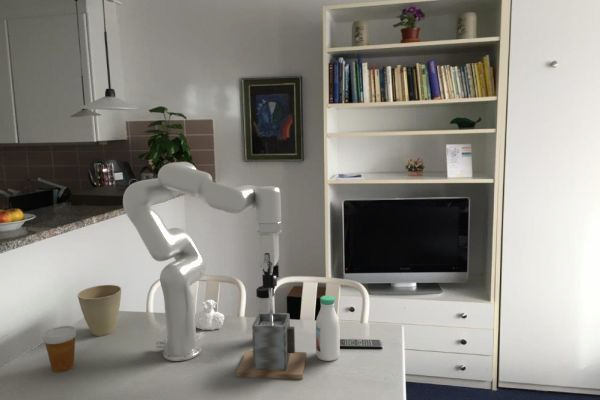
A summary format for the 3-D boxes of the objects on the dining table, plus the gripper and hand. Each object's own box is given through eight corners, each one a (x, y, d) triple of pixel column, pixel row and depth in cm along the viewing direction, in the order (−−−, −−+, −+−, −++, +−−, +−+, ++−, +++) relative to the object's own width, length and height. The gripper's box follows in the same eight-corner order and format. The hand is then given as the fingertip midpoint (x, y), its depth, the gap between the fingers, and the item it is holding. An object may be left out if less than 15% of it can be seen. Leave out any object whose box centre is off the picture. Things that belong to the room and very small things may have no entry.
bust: (225, 332, 174) (228, 303, 179) (221, 327, 167) (224, 297, 173) (194, 332, 175) (198, 303, 180) (189, 327, 168) (193, 297, 174)
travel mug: (273, 345, 158) (272, 289, 155) (255, 343, 159) (253, 288, 156) (278, 337, 164) (276, 283, 161) (260, 335, 165) (259, 282, 162)
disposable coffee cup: (45, 377, 139) (41, 340, 137) (46, 364, 147) (42, 329, 146) (80, 369, 143) (76, 333, 142) (79, 357, 152) (75, 322, 150)
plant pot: (72, 335, 168) (68, 294, 166) (106, 321, 181) (103, 282, 179) (99, 344, 161) (95, 301, 159) (132, 328, 174) (129, 288, 172)
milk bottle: (343, 352, 151) (342, 295, 148) (334, 363, 144) (334, 303, 141) (321, 348, 154) (320, 292, 151) (312, 359, 147) (311, 299, 145)
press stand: (236, 376, 137) (234, 328, 135) (246, 354, 151) (244, 310, 149) (302, 379, 135) (301, 329, 133) (306, 356, 149) (305, 311, 147)
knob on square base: (256, 333, 138) (254, 279, 135) (261, 323, 146) (259, 271, 143) (282, 334, 137) (281, 280, 135) (286, 323, 145) (284, 272, 142)
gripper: (262, 222, 146) (264, 273, 148) (250, 233, 129) (253, 291, 131) (285, 221, 145) (287, 273, 147) (277, 233, 128) (279, 292, 130)
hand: (271, 282), depth 139 cm, fingers open, 9 cm apart
